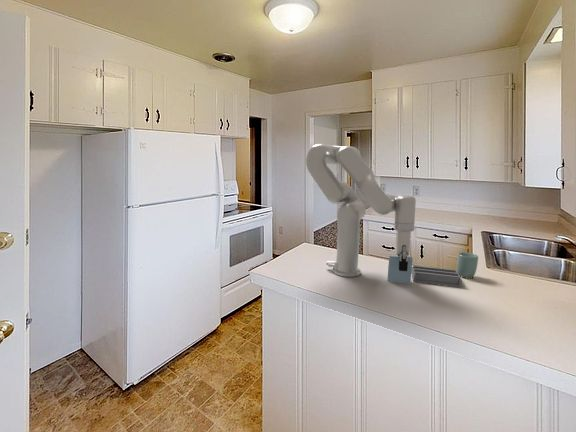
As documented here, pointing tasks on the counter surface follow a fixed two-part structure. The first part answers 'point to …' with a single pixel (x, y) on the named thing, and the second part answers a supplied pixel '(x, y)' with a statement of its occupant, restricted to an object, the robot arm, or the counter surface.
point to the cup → (467, 264)
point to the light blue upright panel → (394, 272)
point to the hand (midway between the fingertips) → (402, 266)
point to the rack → (436, 276)
